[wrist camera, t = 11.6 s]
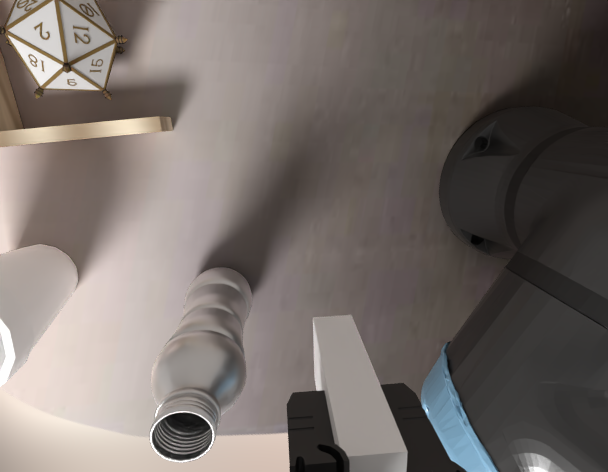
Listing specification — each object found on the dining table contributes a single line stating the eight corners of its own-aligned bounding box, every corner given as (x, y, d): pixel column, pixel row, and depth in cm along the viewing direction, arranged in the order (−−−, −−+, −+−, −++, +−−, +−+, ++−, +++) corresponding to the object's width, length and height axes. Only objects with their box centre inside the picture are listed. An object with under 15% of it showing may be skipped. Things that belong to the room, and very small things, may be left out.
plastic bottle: (176, 290, 40) (94, 441, 21) (223, 247, 40) (181, 365, 20) (221, 329, 42) (182, 501, 23) (266, 289, 41) (265, 433, 22)
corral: (138, -59, 32) (120, -84, 28) (173, 130, 36) (161, 131, 32) (-44, -47, 31) (-88, -71, 27) (14, 145, 35) (-17, 148, 31)
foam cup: (11, 212, 37) (-121, 258, 24) (107, 252, 39) (31, 314, 26) (-18, 295, 39) (-152, 377, 26) (75, 329, 41) (-9, 421, 28)
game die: (87, 66, 37) (-45, 50, 29) (107, -27, 33) (-42, -77, 25) (141, 123, 35) (15, 123, 27) (171, 32, 30) (30, -2, 22)
